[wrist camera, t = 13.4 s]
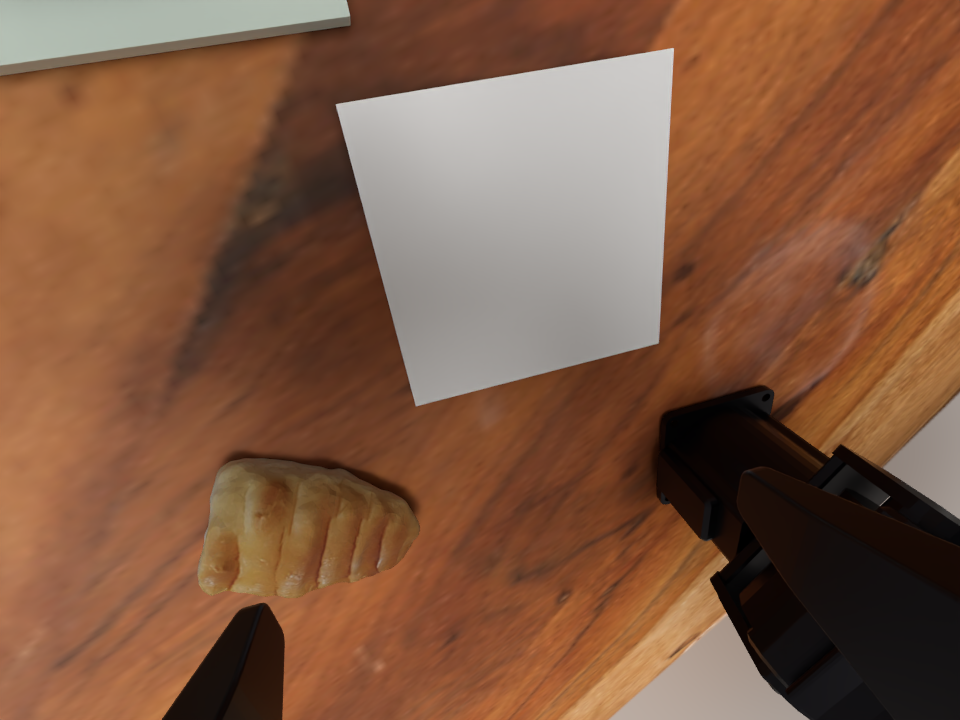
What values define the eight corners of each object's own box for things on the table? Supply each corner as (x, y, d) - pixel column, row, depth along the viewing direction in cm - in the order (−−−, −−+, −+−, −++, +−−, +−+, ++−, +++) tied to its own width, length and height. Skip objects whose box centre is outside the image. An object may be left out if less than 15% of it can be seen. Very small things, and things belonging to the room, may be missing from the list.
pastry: (429, 463, 23) (441, 523, 20) (397, 559, 25) (403, 626, 22) (217, 444, 20) (188, 510, 16) (205, 556, 22) (180, 632, 19)
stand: (648, 53, 16) (673, 48, 15) (640, 329, 22) (658, 343, 20) (337, 105, 15) (335, 103, 14) (412, 387, 20) (415, 406, 19)
